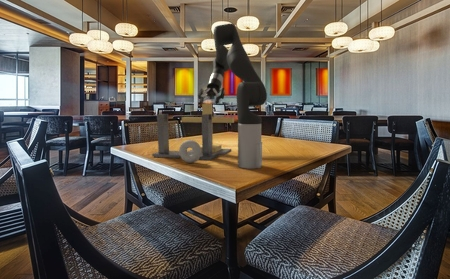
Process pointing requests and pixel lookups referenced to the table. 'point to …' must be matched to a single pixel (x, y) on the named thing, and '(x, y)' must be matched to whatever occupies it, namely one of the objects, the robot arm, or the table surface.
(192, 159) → the donut
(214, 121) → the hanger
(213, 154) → the stand
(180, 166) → the table surface
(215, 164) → the table surface
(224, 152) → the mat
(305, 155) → the table surface
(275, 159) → the table surface
